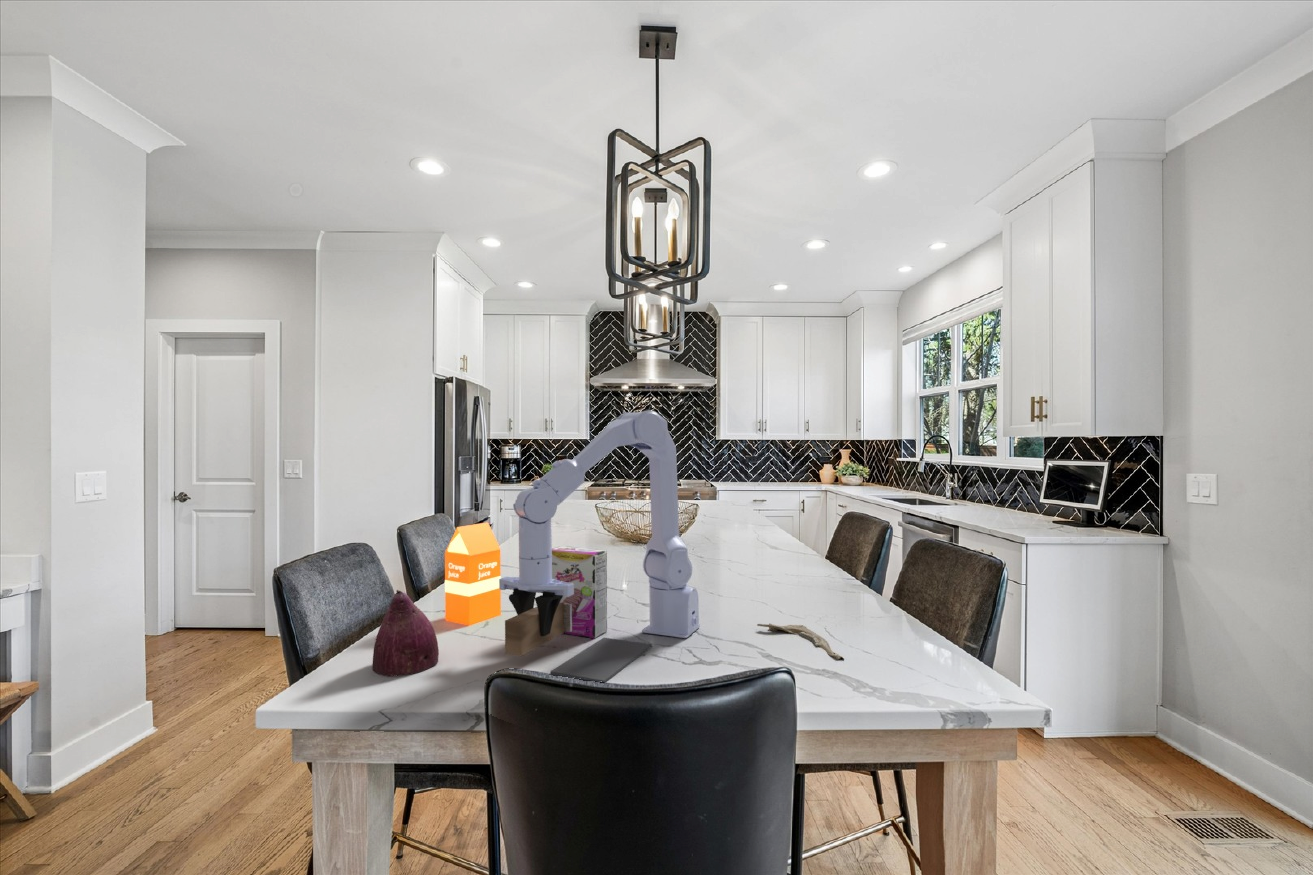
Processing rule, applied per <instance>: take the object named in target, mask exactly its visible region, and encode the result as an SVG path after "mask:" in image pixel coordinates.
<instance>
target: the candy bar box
mask: <svg viewBox="0 0 1313 875" xmlns="http://www.w3.org/2000/svg"><path fill="white" fill-rule="evenodd" d="M607 552H608V551H607V550H604V549H594V548H584V547H575V546H565V545H561V546H556V547H552V579H555V580H559V581H563V582H567V583H573V584H574V595H572V596H569V597H562V599H561V601H560V603H567V604H572V631H571V632H567V631H564V633H563V634H566V635H572V636H577V637H584V638H588V639H598V637H600V636H602V635H604V634H606V633H607V632H608V611H607V610H608V601H607V600H608V594H607V593H608V585H607V581H608V580H607V579H608V573H607V571H608V564H607V561H608V559H607V557H608V556H607V554H608V553H607Z"/></svg>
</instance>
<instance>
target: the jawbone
mask: <svg viewBox="0 0 1313 875" xmlns="http://www.w3.org/2000/svg"><path fill="white" fill-rule="evenodd" d="M756 626H758V627H764V628H768V630H770V631H775V632H776V631H779V630H781V631H783V632H787V633H789V634H792V635H797V636H799V637H802V638H803V639H806V640H808V641H809V642H812V643H813V644H814V646H815V647H818V648H821V649H822V650H823V651H825V652H826V654H827V655H828V656H831V657H833V659H835V660H837V661H839V660H840V661H844V660H845V658H844V657H843V656H841V655H840V654H838V653H836V652H834V651H833V650H832V649H831V647H830V644H829V642H828V641H827V640H826V639H825V638H823V636H820V635H819V634H817V633H816V632H814V631H813V630H811V629H809V628H808V627H807V626H804V625H802V624H788V625H776V624H772V623H769V624H763V623H757V624H756Z"/></svg>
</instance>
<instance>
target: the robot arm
mask: <svg viewBox="0 0 1313 875" xmlns="http://www.w3.org/2000/svg"><path fill="white" fill-rule="evenodd" d="M668 429H669V428H668V421H667V419H665V418H664V417H663V416H662V415H660V414H659V413H658V412H656V411H655V410H649V409H648V410H643V411H638V412H637V411H636V412H624V413H622V414H620V415H619V416H618V417H617V418H616V419H614V420H612V421H611V422H609V423H608V425H607V426H606V427H605V428H604V429H603V430H602V431H601V432H600V433H599V434H598V435H597V436H596V437H595V438H593V440H591V441H590V443H588V444H587V445H586V446H585V447H584V448H583V449H582V450H581V451H580V452H579V453H578V454H577V455H576V456H575V457H574V458H573V459H569V458H564V459H561V460H555V461H554V462H553V463H552V464H551V467H552V468H551V469H550V470H549V471H547V473H545V474H544V475H543V476H541V477H540V478H539V479H534V480H533V481H532V482H531V483H532V487H529V488H528V487H527V488H524V489H523V490H521V491H520V492H519V493H518V495H517V496H516V499H515V501H514V503H513V504H512V505H513V506H512V507H513V510H514V513H515V514H516V515H517V517H518V577H517V576H515V577H514V576H504V577H501V579H499V589H500V590H501V591H505V590H510V591H511V590H512V593H511V594H509V595H508V601H509V602H510V604H512V606H513V608H514V611H515V612H516V616H517V615H519V614H521V613H524V612H526V611H528V610H530V609H533V608H535V604H536V607H537V608H538V613H539V626H540V635H541V636H546V635H548V634H550V631H551V626H552V622H553V618H554V615H555V612H556V609H557V607H558V605H559V603H560V601H561V599H562V597H569V596H572V595H574V584H573V583H567V582H563V581H559V580H555V579H552V548H553V547H552V545H553V544H552V542H553V541H552V540H553V539H552V538H553V536H552V518H554V516H555V515H556V513H557V509H558V506H559V505H561V504H562V503H563V501H565V500H566V499H567V498H568V497H569V496H570V495H571V494H573V493H574V492H575V491H576V490H577V489H578V488H579V487H581V486H582V485H583V484H584V483H585V478H586V472H588V471H589V470H590V469H591V468H593V467H594V466H595V465H597V463H599V462H600V461H601V460H602V459H604V458H605V457H606V456H608V454H610V453H611V452H613V451H614V450H615V449H616V448H618V447H624V446H630V447H633V448H635V449H637V450H638V451H640V452H641V453H642V454H643V455H644V456H645V457H647V458H648V461H649V484H650V487H649V488H650V492H649V494H650V517H651V520H650V521H651V537H650V539H649V540H648V542H646V546H645V547H646V549H645V550H646V552H645V556H644V558H643V562H642V568H643V572H644V573H645V575H646V576H647V577H648V584H649V587H648V588H649V589H648V591H649V601H648V602H649V625H647V626H646V627H644V628H642V630H641V633H645V634H652V635H659V636H667V637H674V638H681V639H687V638H688V637H689V636H690V635H692V634H694V632H695V631H697V630H698V629H699V628H700V627H701V626H700V624H699V619H700V618H699V593H698V590H697V588H695V587H690V586H688V585H687V583H689V581H690V580H691V578H692V574H693V565H692V561H691V560H690V558H689V554H688V547H687V546H686V544H685V543H684V541H683V540H682V538H681V537H680V525H679V524H680V522H679V495H678V492H679V491H678V466H677V465H678V464H677V447H676V444H675V442H674V441H673V438H672V436H671V435H670V432H669V430H668ZM537 593H538V594H541V595H539V596H537Z"/></svg>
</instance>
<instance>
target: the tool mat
mask: <svg viewBox="0 0 1313 875" xmlns="http://www.w3.org/2000/svg"><path fill="white" fill-rule="evenodd" d="M652 647H653V644H651V643H646V642H645V643H644V642H640V641H639V642H638V641H631V640H625V639H624V640H623V639H616V638H611V637H602V638H600V639H599V640H597V641H596V642H594V643H593V644H591V645H590V646H588V647H586V648H585V649H583V650H582V651H580V652H579V653H577V654H576V655H573V656H572V657H571V658H569V659H568V660H566V661H564V662H563V663H561V664H559V665H558V666H556V667H554V668H553V669H551V670H550V673H552V674H551V675H557V676H561V677H566V676H569V677H568V678H572V677H575V678H574V679H578V678H581V679H580V680H583V679H585V681H589V680H591V681H590V682H595V681H602V682H606V683H607V682H608V681H610V680H611V679H612V678H614V676H616V675H617V674H619V673H620V672H621V671H622V670H624V669H625V668H626V667H627V666H629V665H630V664H631V663H632V662H634V661H636V659H638V658H639V657H640V656H642V654H645V652H647V651H648V650H650V648H652ZM550 673H549V674H550Z"/></svg>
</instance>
